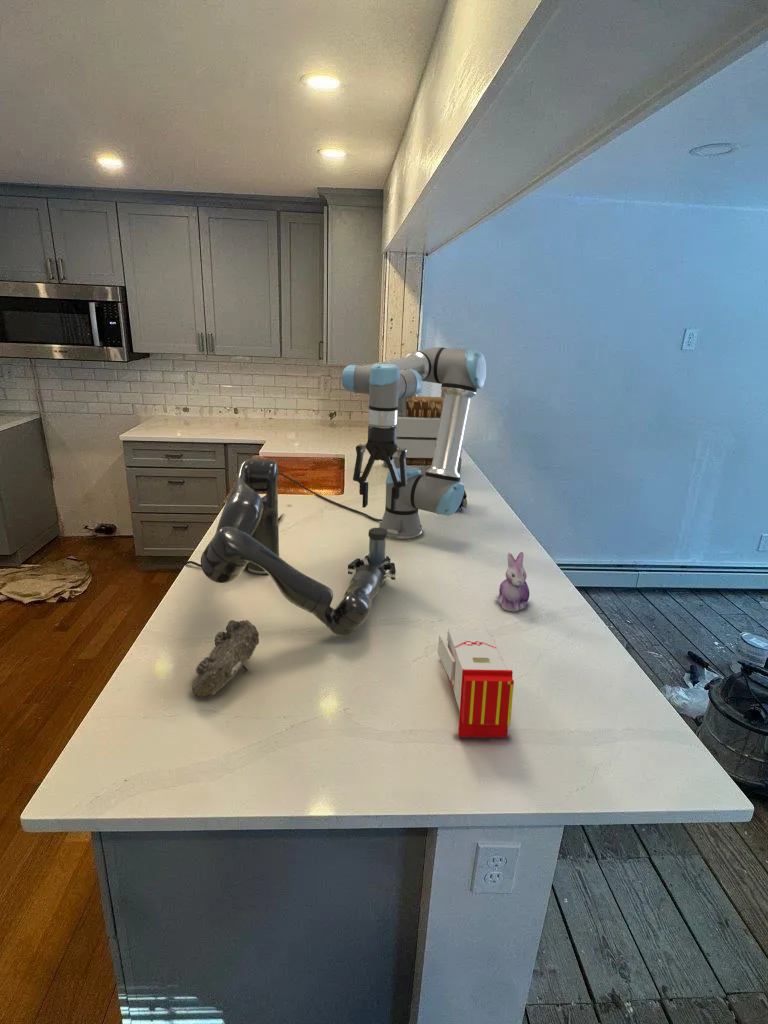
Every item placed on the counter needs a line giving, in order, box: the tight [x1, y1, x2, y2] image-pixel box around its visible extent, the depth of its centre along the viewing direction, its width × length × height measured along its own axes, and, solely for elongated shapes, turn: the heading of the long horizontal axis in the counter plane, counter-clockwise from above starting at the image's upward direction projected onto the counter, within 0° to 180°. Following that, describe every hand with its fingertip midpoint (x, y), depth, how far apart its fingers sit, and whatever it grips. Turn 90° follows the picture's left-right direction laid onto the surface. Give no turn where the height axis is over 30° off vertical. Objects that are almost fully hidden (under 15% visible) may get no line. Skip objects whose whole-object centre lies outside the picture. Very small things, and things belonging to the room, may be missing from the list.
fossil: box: [191, 619, 260, 698], centre depth 121 cm, size 22×10×15 cm
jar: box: [368, 536, 387, 587], centre depth 161 cm, size 5×5×16 cm
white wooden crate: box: [383, 390, 464, 476], centre depth 268 cm, size 34×33×41 cm
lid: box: [368, 527, 388, 540], centre depth 159 cm, size 5×5×2 cm
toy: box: [437, 628, 515, 738], centre depth 117 cm, size 12×13×30 cm
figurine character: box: [457, 489, 468, 512], centre depth 228 cm, size 7×8×15 cm
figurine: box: [497, 551, 530, 612], centre depth 152 cm, size 9×10×15 cm
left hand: (378, 558), depth 164 cm, fingers closed on jar, 4 cm apart
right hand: (379, 507), depth 156 cm, fingers open, 7 cm apart
